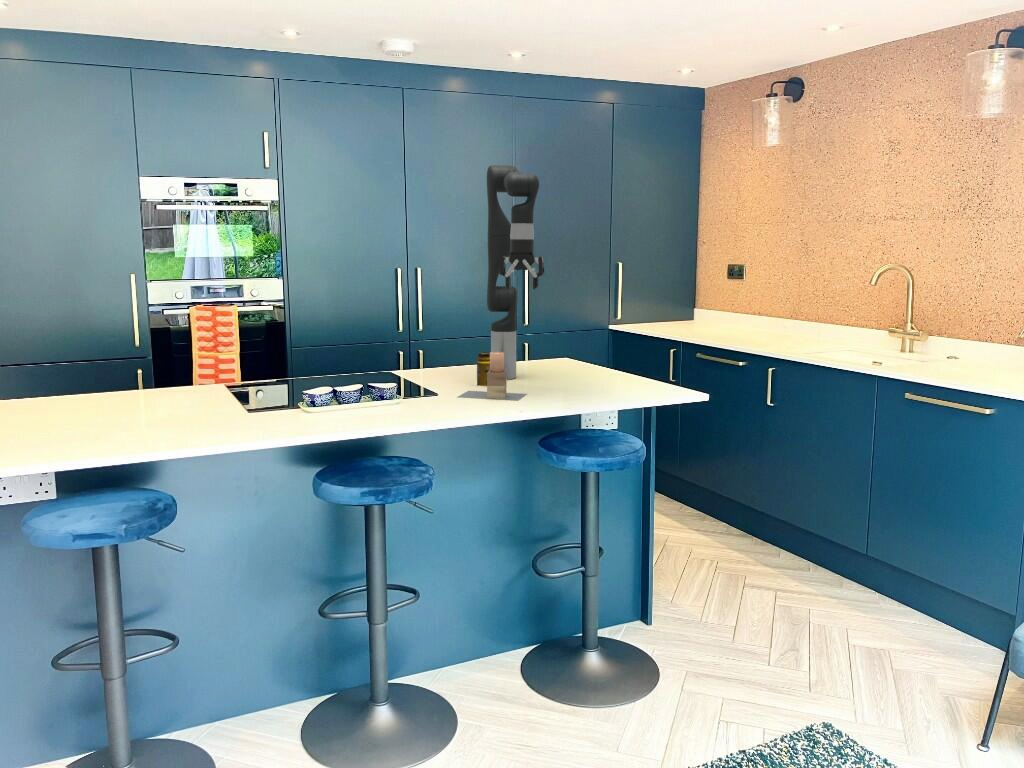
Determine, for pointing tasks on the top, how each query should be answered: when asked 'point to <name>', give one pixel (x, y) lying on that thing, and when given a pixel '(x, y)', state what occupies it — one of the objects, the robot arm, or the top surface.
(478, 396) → the board
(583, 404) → the top surface
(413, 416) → the top surface
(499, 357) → the pink cylinder
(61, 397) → the top surface
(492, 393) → the block base
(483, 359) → the condiment
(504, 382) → the block top
